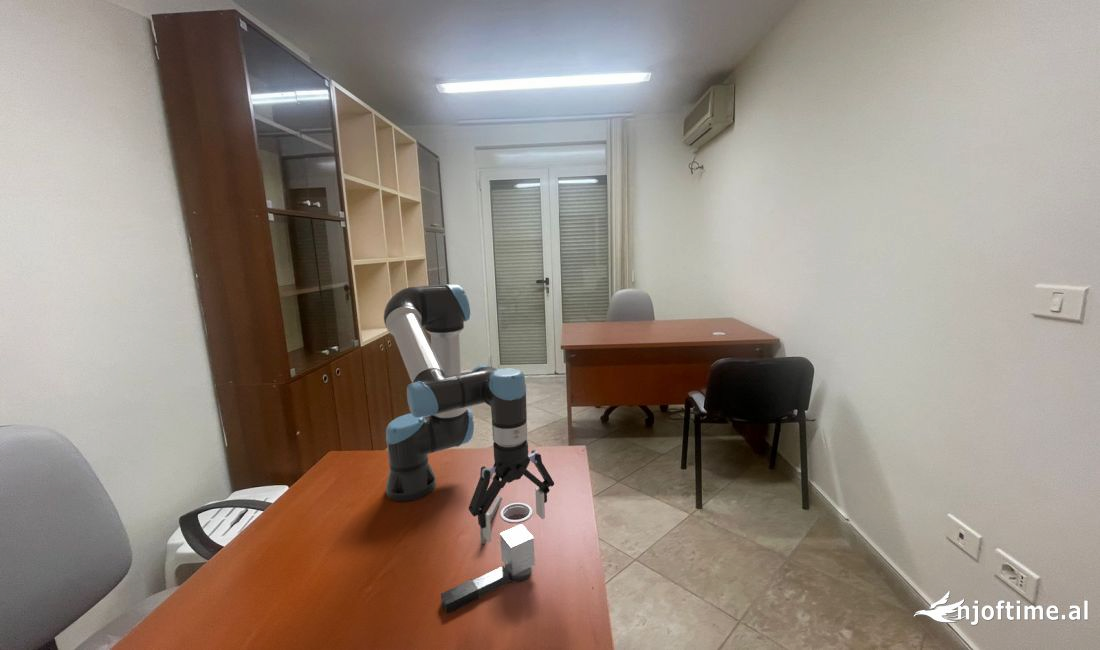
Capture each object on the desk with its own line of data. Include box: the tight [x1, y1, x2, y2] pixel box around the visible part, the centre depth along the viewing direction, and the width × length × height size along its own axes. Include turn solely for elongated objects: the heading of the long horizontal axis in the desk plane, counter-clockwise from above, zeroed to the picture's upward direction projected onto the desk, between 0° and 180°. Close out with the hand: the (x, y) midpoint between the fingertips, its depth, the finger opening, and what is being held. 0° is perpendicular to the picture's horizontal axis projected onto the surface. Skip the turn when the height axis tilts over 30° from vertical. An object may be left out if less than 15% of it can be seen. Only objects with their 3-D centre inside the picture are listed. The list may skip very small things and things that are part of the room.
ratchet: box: [440, 564, 532, 615], centre depth 90 cm, size 6×20×6 cm, turn 122°
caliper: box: [479, 496, 503, 545], centre depth 113 cm, size 20×1×6 cm, turn 175°
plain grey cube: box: [499, 524, 536, 575], centre depth 93 cm, size 6×6×7 cm
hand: (514, 526), depth 93 cm, fingers open, 13 cm apart
